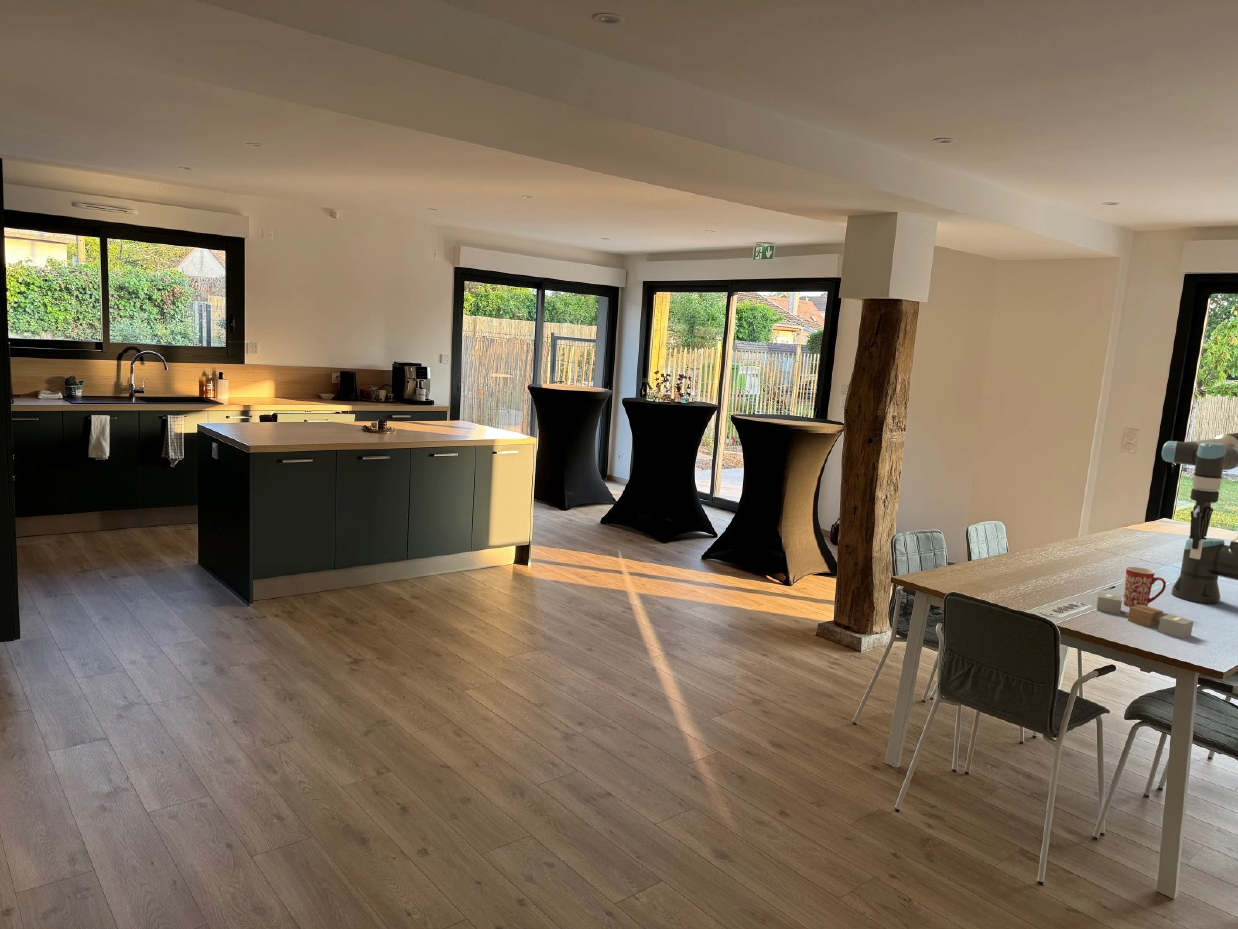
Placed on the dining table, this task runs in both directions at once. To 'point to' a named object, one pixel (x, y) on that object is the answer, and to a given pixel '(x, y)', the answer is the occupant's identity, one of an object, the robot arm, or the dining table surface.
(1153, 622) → the walnut block
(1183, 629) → the marked block
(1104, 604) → the marked block
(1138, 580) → the mug
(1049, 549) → the dining table surface
